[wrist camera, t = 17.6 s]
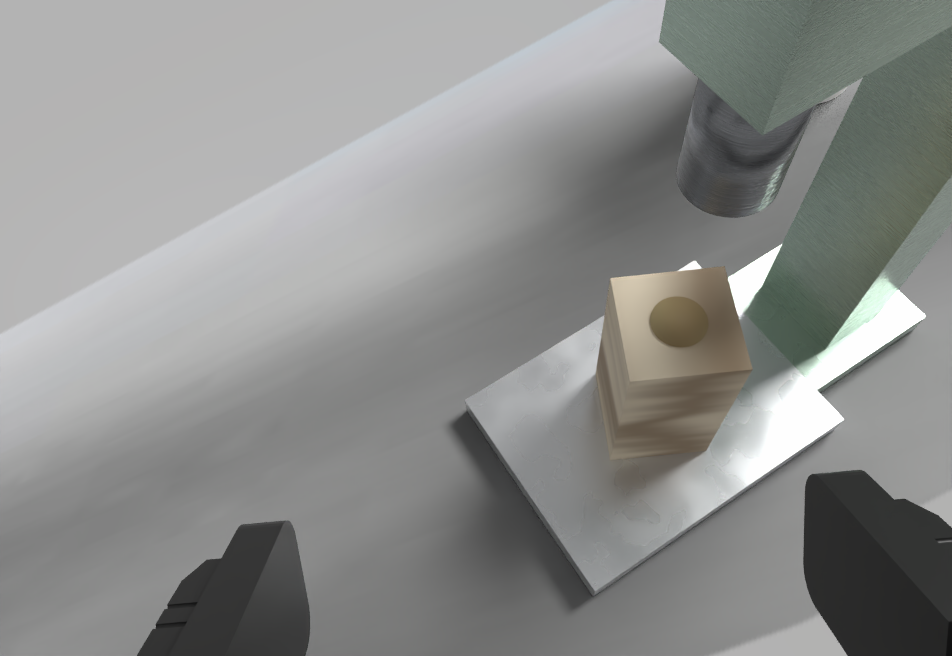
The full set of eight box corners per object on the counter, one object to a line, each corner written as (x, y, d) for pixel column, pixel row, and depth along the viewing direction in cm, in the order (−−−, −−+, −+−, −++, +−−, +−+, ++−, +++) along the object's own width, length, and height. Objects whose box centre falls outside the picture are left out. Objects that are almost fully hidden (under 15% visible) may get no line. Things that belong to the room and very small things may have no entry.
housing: (610, 460, 41) (630, 380, 32) (595, 373, 43) (610, 277, 34) (706, 450, 41) (753, 368, 32) (686, 364, 43) (725, 265, 34)
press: (593, 596, 39) (708, 285, 13) (466, 410, 44) (362, -86, 18) (1055, 276, 46) (1764, -368, 19) (898, 147, 51) (1287, -500, 24)
